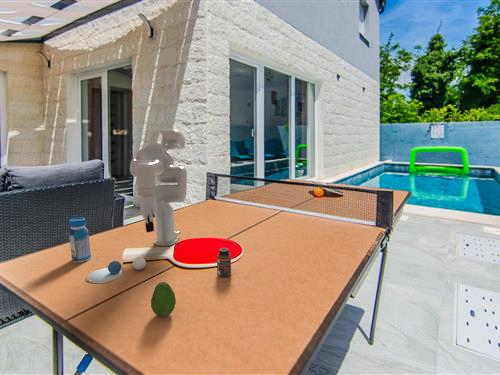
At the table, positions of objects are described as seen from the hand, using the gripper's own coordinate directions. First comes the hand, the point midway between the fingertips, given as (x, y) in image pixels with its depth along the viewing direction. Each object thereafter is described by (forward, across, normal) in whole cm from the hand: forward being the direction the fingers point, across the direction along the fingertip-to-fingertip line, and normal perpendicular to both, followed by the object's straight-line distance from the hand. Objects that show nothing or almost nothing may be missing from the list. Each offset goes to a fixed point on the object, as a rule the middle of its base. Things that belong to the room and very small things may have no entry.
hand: (150, 231), depth 143 cm
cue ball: (+13, +2, -6) cm, 15 cm away
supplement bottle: (+16, +25, +25) cm, 39 cm away
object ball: (+13, +1, -16) cm, 21 cm away
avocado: (+16, +42, -5) cm, 45 cm away
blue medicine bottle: (+17, -23, -28) cm, 40 cm away
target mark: (+16, +1, -20) cm, 26 cm away
